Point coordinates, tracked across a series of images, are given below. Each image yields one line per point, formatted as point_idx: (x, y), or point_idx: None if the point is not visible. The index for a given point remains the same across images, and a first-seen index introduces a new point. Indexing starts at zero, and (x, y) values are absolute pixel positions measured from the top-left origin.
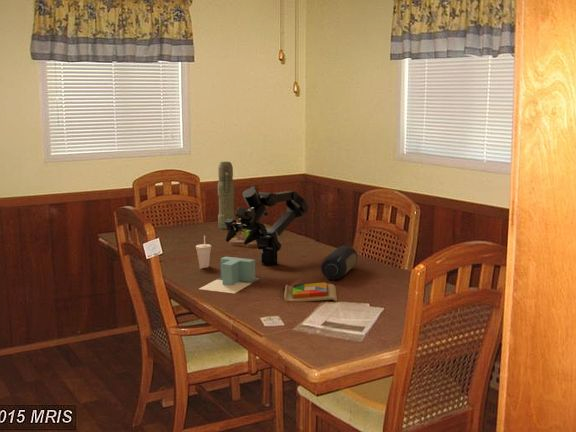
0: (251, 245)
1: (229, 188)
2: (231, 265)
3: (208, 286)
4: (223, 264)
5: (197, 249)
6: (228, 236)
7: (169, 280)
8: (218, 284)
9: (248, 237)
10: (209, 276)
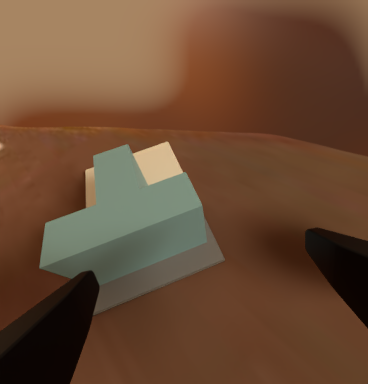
0: None
1: None
2: (94, 157)
3: (164, 160)
4: (122, 146)
5: None
6: (349, 253)
7: (287, 139)
8: (157, 181)
9: (8, 330)
10: (262, 221)
